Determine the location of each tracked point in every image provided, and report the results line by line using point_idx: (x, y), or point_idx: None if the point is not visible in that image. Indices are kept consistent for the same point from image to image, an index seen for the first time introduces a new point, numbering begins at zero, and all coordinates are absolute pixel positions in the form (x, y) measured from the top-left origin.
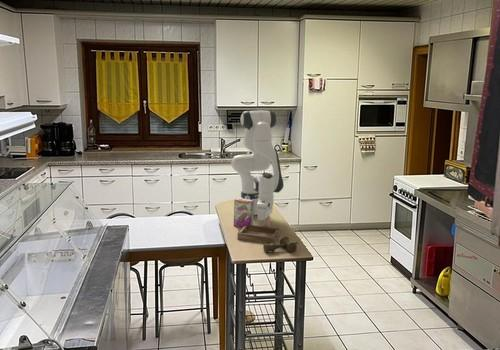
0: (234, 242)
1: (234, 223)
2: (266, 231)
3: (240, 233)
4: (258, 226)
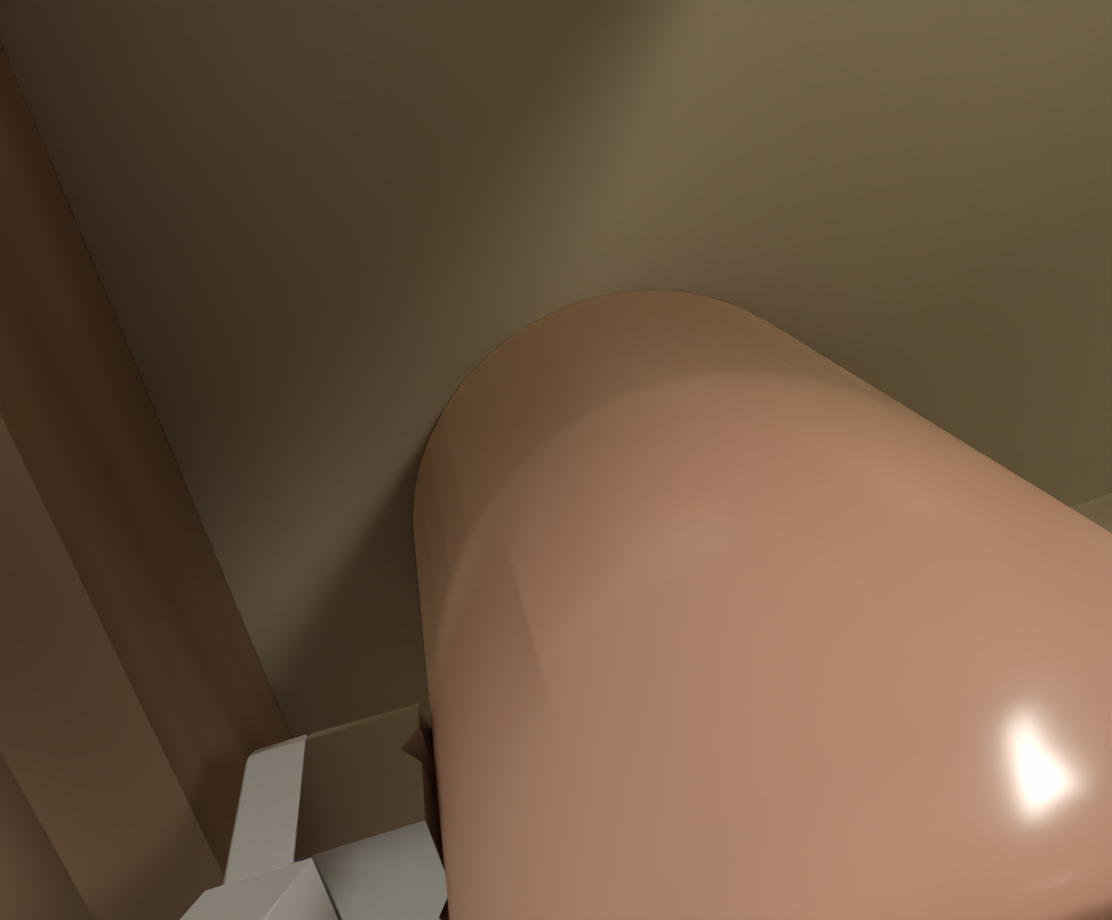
0: None
1: None
2: None
3: None
4: (2, 621)
